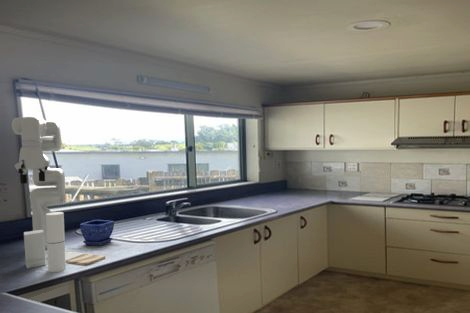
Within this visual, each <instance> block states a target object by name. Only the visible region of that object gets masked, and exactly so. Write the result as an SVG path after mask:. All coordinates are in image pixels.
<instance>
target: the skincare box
mask: <svg viewBox="0 0 470 313" xmlns="http://www.w3.org/2000/svg"><path fill="white" fill-rule="evenodd" d="M23 242H24V243H23V244H24V256H25V257H24V259H25V266H26V267H25V268H26V269H31V268H35V267H41V266H46V265H47V264H46V252H45V251H46V249H45V246H44V232H43V230H36V231H33V230H30V231H24V232H23Z"/></svg>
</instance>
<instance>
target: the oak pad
mask: <svg viewBox="0 0 470 313" xmlns="http://www.w3.org/2000/svg"><path fill="white" fill-rule="evenodd" d="M83 254H84V255H81V256H79V257H76V258H73V259H71V260H68V261H67V262H66V263H68V264H74V265H82V266H87V265H88V266H90V265H92V264H95V263H97V262H99V260H100V261H102V260H104V258H105V259H106V255H99V254H92V253H91V254H90V253H83ZM94 262H95V263H94ZM89 264H90V265H89Z"/></svg>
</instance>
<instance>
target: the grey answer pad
mask: <svg viewBox="0 0 470 313" xmlns="http://www.w3.org/2000/svg"><path fill="white" fill-rule="evenodd" d="M84 254H85V253H83V252H74V251H66V250H65V262H66V263H67V261H68V260H71V259H73V258H76V257H79V256H81V255H84ZM46 260H47V261H48V257H46Z"/></svg>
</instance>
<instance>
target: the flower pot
mask: <svg viewBox="0 0 470 313" xmlns="http://www.w3.org/2000/svg"><path fill="white" fill-rule="evenodd" d="M114 226H115V221H114V220H104V219H93V220H90V221H86V222H85V221H84V222H82V223H80V224H79V228H80V233H81V235H82V237H83V239H84V240H83V241H82V242H83V244H85V245H87V246H97V247H99V246H103V245H105V244H108V243H111V242H112V241H113V239H114V238H113V237H111V236H112V234H113V231H114Z"/></svg>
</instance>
